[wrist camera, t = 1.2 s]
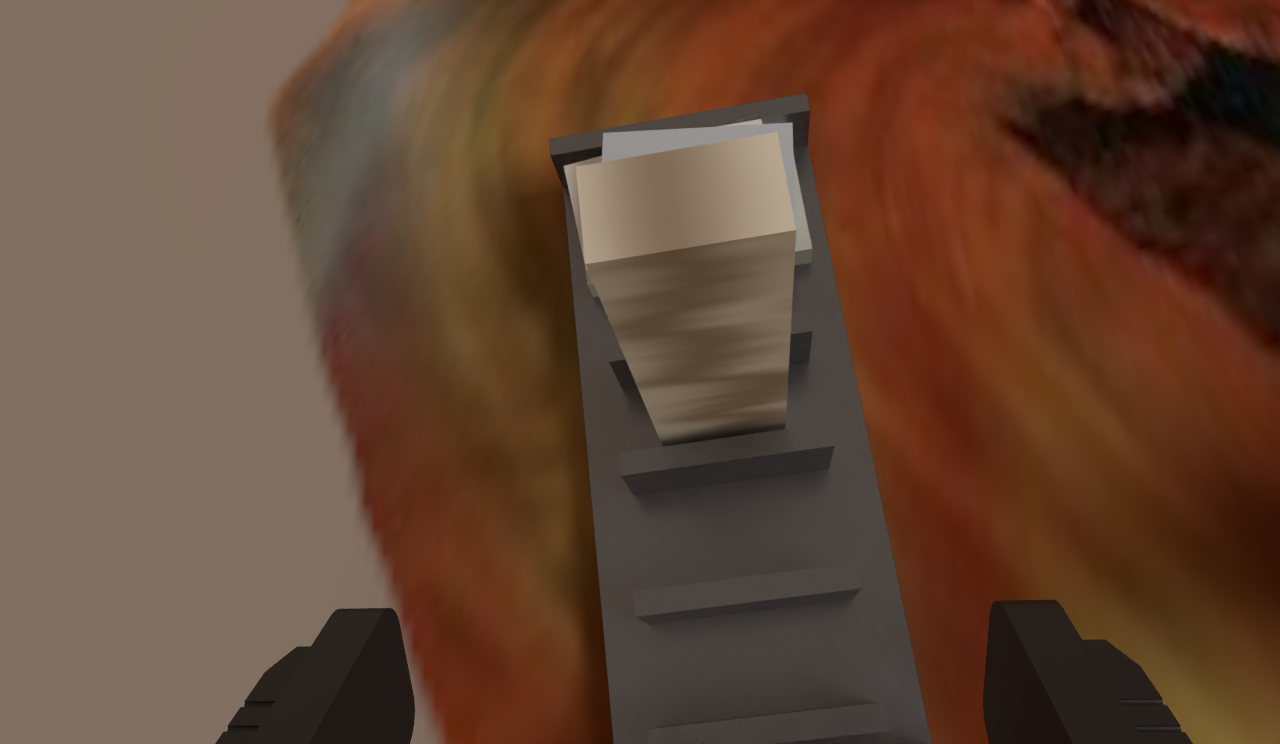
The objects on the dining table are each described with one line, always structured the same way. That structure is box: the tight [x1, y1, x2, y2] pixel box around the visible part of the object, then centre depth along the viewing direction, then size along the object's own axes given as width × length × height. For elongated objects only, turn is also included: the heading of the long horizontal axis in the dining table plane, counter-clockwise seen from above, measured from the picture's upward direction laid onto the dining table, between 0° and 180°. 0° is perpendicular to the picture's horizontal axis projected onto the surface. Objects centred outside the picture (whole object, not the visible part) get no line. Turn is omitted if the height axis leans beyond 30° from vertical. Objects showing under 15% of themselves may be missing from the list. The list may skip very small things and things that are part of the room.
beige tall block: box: [576, 132, 796, 447], centre depth 33 cm, size 6×3×20 cm, turn 97°
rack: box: [549, 94, 932, 744], centre depth 41 cm, size 13×31×6 cm, turn 7°
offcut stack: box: [564, 114, 812, 297], centre depth 44 cm, size 11×7×4 cm, turn 97°
